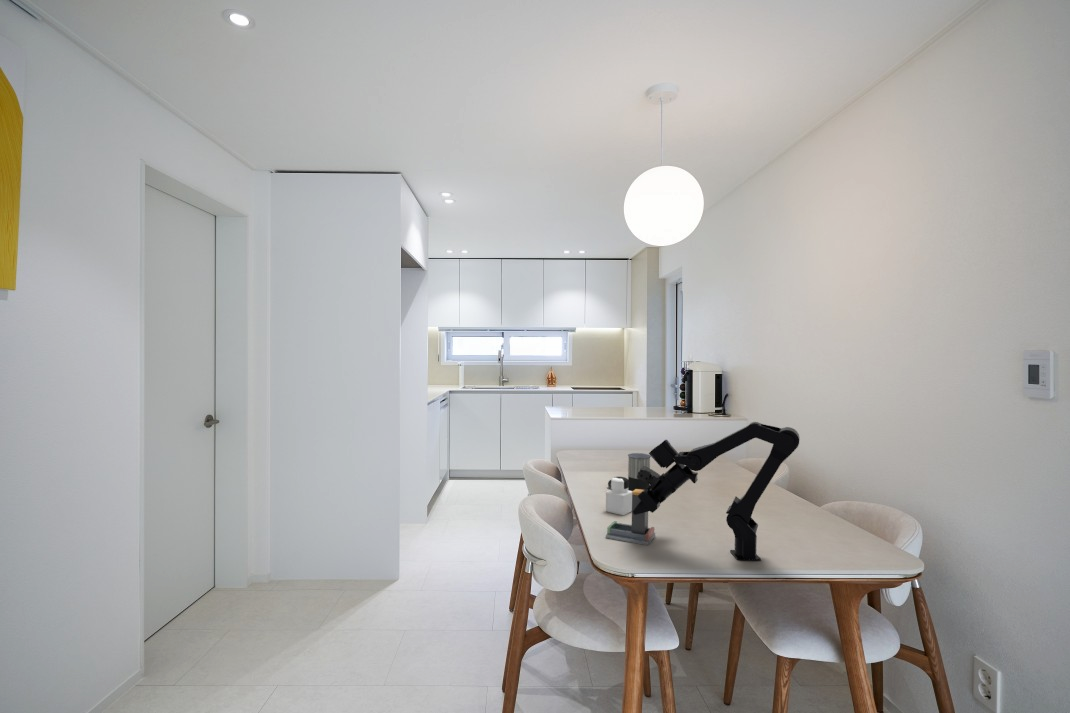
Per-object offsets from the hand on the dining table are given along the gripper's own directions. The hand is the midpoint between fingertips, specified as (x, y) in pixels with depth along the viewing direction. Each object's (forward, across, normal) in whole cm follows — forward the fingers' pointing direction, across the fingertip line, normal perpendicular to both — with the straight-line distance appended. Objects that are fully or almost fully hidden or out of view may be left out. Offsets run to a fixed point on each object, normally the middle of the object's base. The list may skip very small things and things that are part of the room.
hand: (635, 511), depth 167 cm
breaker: (+4, 0, +6) cm, 7 cm away
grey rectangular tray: (+7, 0, +5) cm, 8 cm away
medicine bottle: (+15, -24, -3) cm, 28 cm away
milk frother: (+18, -53, -7) cm, 57 cm away
